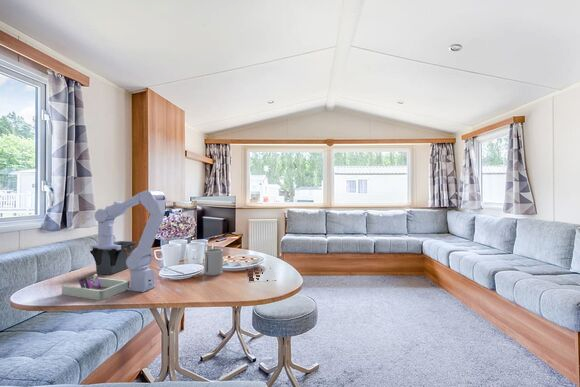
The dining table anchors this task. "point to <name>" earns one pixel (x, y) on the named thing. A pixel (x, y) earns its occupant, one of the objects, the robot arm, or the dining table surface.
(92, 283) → the game card
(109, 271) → the storage bin
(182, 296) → the dining table surface
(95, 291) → the open box
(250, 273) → the chocolate bar
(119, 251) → the robot arm
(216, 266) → the cup
